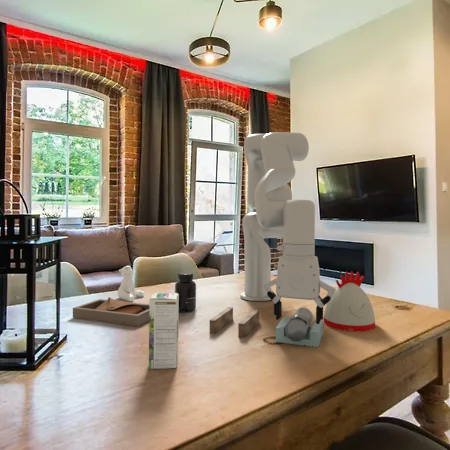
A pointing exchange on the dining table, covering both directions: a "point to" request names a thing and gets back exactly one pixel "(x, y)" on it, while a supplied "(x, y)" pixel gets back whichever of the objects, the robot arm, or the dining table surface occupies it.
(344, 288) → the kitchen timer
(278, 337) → the cradle
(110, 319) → the valet tray rim
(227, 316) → the wooden blocks
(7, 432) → the dining table surface
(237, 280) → the dining table surface
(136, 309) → the sunglasses case
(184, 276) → the supplement bottle
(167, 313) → the syrup box
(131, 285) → the white creature statuette
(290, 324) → the grey cylinder
